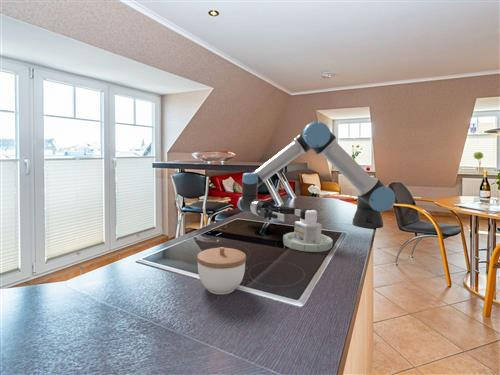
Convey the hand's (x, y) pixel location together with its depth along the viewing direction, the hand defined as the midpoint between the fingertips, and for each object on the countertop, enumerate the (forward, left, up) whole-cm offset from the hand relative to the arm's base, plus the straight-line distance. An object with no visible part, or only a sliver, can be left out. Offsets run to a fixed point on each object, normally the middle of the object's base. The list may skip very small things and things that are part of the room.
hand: (295, 216), depth 127 cm
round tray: (-1, +7, -10) cm, 12 cm away
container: (-2, +7, -9) cm, 11 cm away
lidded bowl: (+46, +30, -10) cm, 55 cm away
